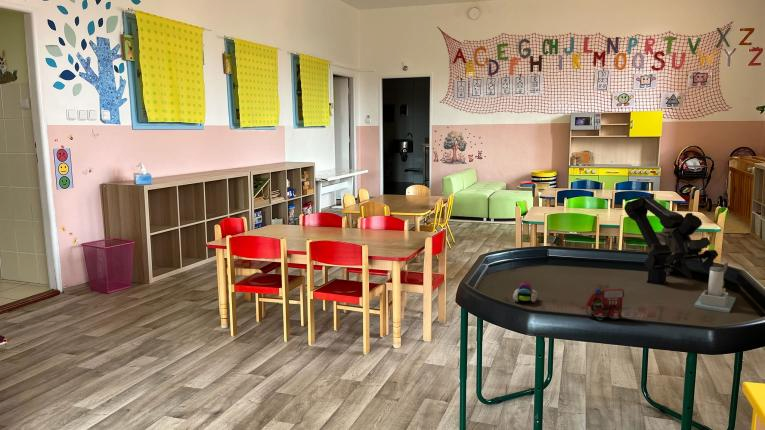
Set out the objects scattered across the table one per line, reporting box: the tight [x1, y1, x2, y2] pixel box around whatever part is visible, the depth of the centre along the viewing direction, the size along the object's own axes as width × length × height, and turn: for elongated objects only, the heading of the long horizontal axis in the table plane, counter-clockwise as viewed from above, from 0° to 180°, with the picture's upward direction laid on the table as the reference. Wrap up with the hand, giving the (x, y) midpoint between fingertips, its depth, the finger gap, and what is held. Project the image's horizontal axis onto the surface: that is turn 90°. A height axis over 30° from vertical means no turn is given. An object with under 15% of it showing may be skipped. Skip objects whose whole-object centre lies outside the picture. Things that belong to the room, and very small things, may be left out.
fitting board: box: [693, 287, 737, 314], centre depth 219 cm, size 11×18×4 cm, turn 144°
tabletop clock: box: [654, 227, 680, 277], centre depth 261 cm, size 14×9×25 cm, turn 6°
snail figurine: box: [713, 259, 729, 288], centre depth 236 cm, size 5×6×12 cm
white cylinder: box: [707, 266, 725, 297], centre depth 216 cm, size 4×4×13 cm
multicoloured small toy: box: [512, 281, 538, 302], centre depth 226 cm, size 8×10×7 cm
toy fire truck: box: [585, 288, 625, 318], centre depth 206 cm, size 7×12×10 cm, turn 87°
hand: (702, 277), depth 222 cm, fingers open, 9 cm apart
